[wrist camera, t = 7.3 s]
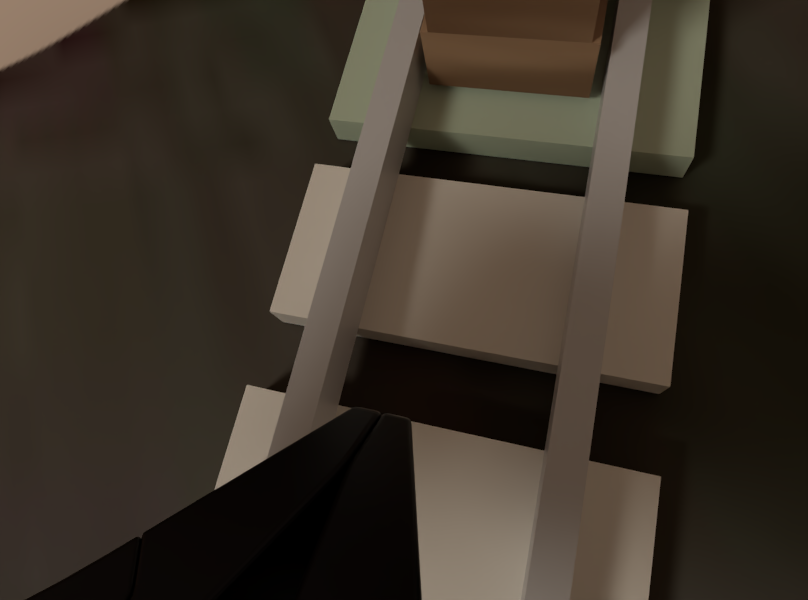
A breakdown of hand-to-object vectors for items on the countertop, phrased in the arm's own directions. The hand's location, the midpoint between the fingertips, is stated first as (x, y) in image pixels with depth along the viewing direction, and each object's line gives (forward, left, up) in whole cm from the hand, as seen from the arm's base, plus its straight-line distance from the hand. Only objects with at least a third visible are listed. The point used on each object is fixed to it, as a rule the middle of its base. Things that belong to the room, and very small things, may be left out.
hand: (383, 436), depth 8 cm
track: (+4, -3, -7) cm, 8 cm away
